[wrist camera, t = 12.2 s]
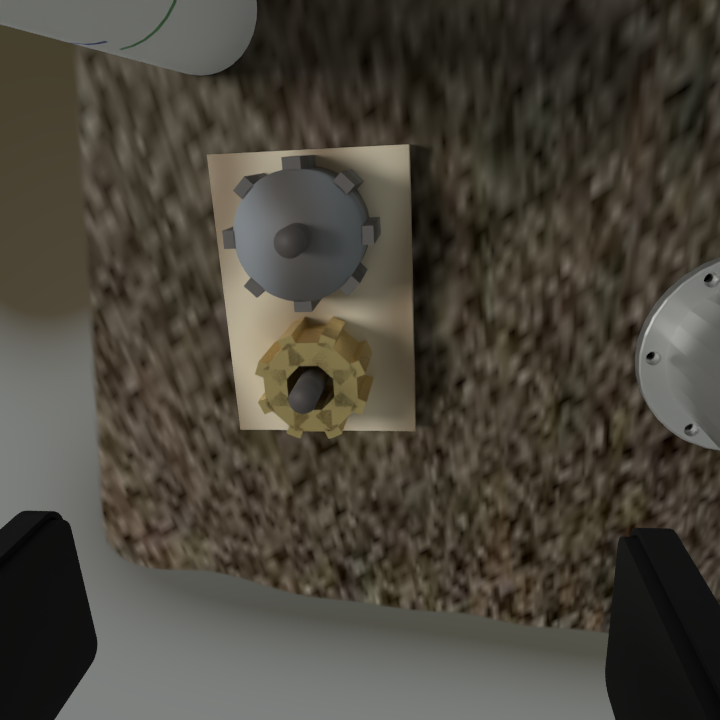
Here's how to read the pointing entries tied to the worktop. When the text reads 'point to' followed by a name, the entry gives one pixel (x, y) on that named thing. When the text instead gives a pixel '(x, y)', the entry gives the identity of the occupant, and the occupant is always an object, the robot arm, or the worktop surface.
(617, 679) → the robot arm
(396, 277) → the gear board
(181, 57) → the cylindrical container
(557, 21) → the worktop surface
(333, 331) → the brass gear
